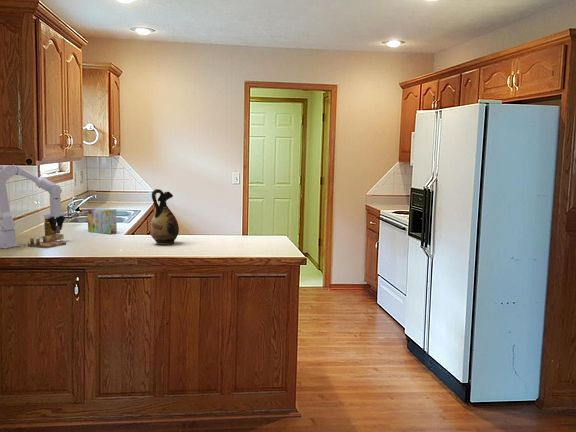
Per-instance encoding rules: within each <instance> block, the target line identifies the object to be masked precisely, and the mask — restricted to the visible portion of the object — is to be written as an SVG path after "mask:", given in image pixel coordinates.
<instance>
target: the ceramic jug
mask: <svg viewBox="0 0 576 432" xmlns="http://www.w3.org/2000/svg"><path fill="white" fill-rule="evenodd" d="M157 194H159V196H158V198H157V197H156V195H157ZM173 197H174V195H173V194H172V193H171V192H170V191H163V190H162V189H158V188H155V189H154V190H153V191H152V192H151V200H152V202H153V204H154V205H153V206H154V207H155V212H154V214H153V216H152V218H151V221H150V225H149V233H150V236H151V238H152V239H153V240H154V241H155V243H156V245H164V246H165V245H167V246H168V245H174V244H175V241H176V239H177V237H178V235H179V232H180V228H179V223H178V221H177V220H178V219H177V218H176V217H175V214H174V213H173V212H172V211H171V209H170V208H169V207H168V205H167V201H168V200H170V199H172V198H173ZM158 202H159V204H158Z"/></svg>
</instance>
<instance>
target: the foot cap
mask: <svg viewBox="0 0 576 432" xmlns="http://www.w3.org/2000/svg"><path fill="white" fill-rule="evenodd" d="M54 234H61V230H60V226H57V225H56V231H54Z"/></svg>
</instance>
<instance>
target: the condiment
mask: <svg viewBox="0 0 576 432" xmlns="http://www.w3.org/2000/svg"><path fill="white" fill-rule="evenodd" d="M43 224H44V236H50V235H54V231H52V228H51V225H50V223H49V221H48V220H47V219H44V223H43ZM40 239H42V240H43V236H40Z"/></svg>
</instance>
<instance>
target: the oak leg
mask: <svg viewBox="0 0 576 432" xmlns="http://www.w3.org/2000/svg"><path fill="white" fill-rule="evenodd" d="M44 236H45V235H44ZM53 240H56V241H59V240H65V235H64V234H61V233H59V234H54V235H50V236H45V241H47V242H48V241H53Z"/></svg>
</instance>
